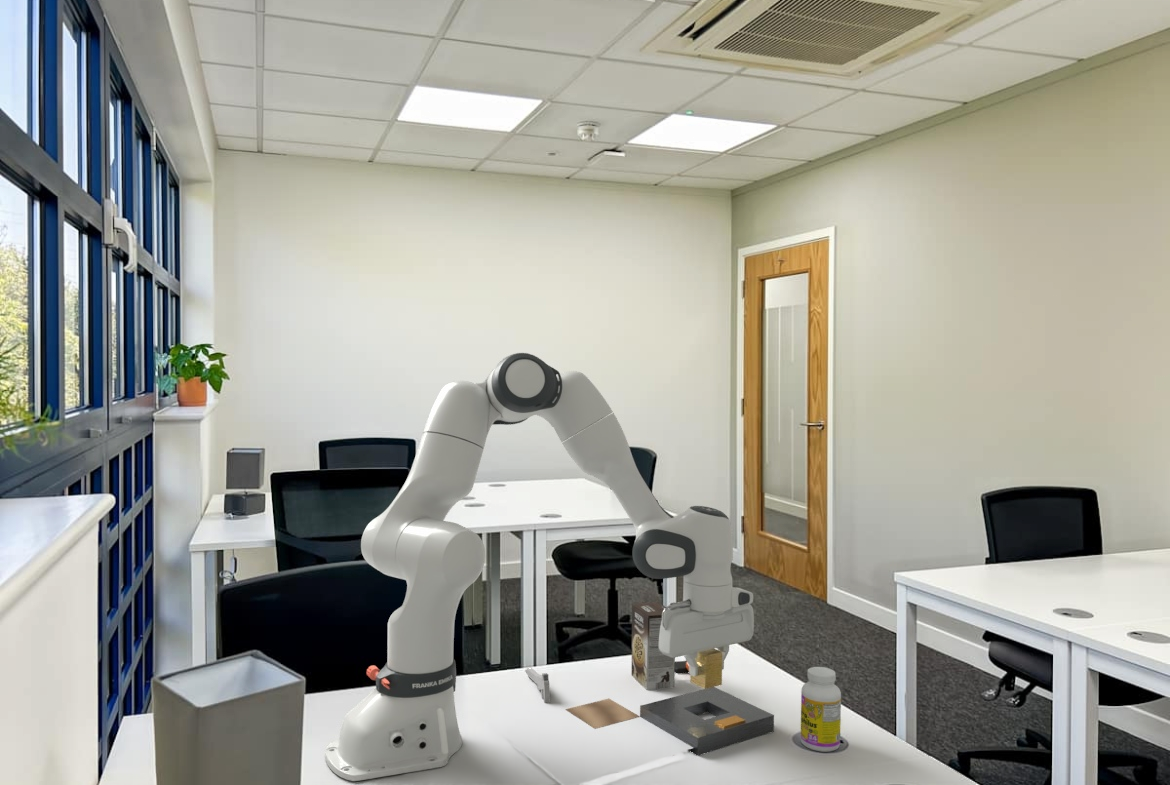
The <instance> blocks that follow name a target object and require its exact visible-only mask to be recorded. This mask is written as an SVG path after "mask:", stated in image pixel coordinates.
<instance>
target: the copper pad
mask: <svg viewBox="0 0 1170 785" xmlns="http://www.w3.org/2000/svg"><path fill="white" fill-rule="evenodd" d="M565 711H567V712H568V713H569V714H571V715H573V716H574V717H576V718H577V719H579V720H581V721H582V722H584V723H585V724H586V725H588V726H589V727H591V728H593V729H594V730H595V729H600V728H603V727H607V726H611V725H614V724H618V723H622V722H625V721H629V720H634V719H637V718H641V717H640V715H638V714H636V713H635V712H633V711H631V710H630V709H628V708H627V707H625V706H623V705H621V704H619V702H618V703H617V702H616V701H614V700H612V699H610V698H606V699H605V698H604V699H601V700H598V701H597V700H596V701H594V702H589V703H584V704H582V705H577V706H573V707H570V708H569V707H568V708H566V709H565Z"/></svg>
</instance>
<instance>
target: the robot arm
mask: <svg viewBox="0 0 1170 785" xmlns="http://www.w3.org/2000/svg"><path fill="white" fill-rule="evenodd" d="M534 416H539V417H541V418H543V419H544V420H546V421H547V422H548V423H549V425H550V426H551V427H552V428H553V429H554V431H555V433H556V435H557V436H558V439H559V441H560V443H562V445H563V447H564V449H565V451H567V454H568V455H569V456H570V458H572V461H573V462H574V464H576V466H578V467H579V468H580V470H581V471H582V472H584V473H585V474H587V475H590V476H593V477H594V478H596V479H598V480H600V481H602V482H603V484H605V485H607V487H609V489H610V490H611V491H612V492H613V494H614V495H615V497H616V499H617V500H618V503H620V505H621V507H622V508H623V510H624V511H625V513H626V514H627V516H628V517H629V518H628V519H630V521H631V522H632V525H633V527H634V531H635V540H634V543H633V546H632V550H631V551H632V560H633V563H634V565H635V566H636V568H637V569H638V571H639V572H640V573H642V575H644V576H646V577H648V578H651V579H655V580H663V579H674V578H678V577H683V586H682V588H683V592H682V593H683V595H682V596H683V597H682V600H681V601H678V602H675V601H674V602H670V603H668V605H667V606H665V607H666V608H665V609H664V611H663V612H662V621H661V626H660V633H659V650H660V651H661V652H662V653H663V654H664V655H666V656H669V657H671V658H675V659H676V658H678V657H684V659H685V661H687V663H688V664H689V673H688V674H689V676H691V675H692V676H694V677H695V676H698V675H701V670H702V666H701V665H698V664H697V662H696V660H695V658H697V655H698V652H701V651H705V650H710V649H716V650H719V651H721V652H722V671H723V670H724V669H725V660H726V658H727V656H728V654H729V652H730V646H731V645H736V644H740V643H744V642H749V641H750V640H752V638H753V635H754V630H755V614H754V608H753V606H752V604H753V602H754V593H753V592H751V591H749V590H746V589H744V588H741V587H737V586H736V585H734V584H733V575H732V571H731V570H732V568H731V565H732V561H733V558H734V538H733V527H732V523H731V520H730V518H729V517H728V515H726V514H725V513H724V512H723V511H721V510H719V509H716V508H713V507H709V506H703V505H693V506H689V507H688V509H686V510H685V511H683V512H682V513H680V514H678V515H676V516H673V515H672V514H670V513H669V512H668V511H666V510H665V509H664V508H663V507H662V506H661V504H660V503H659V502H658V500H657V498H656V497H655V495H654V493H652V490H651V489H650V488H649V486H648V484H647V482H646V481H645V479H644V477H642V476H643V475H642V474H641V473H640V470H639V469H638V467H637V465H636V462H635V459H634V457H633V455H632V452H631V447H630V445H629V443H628V440H627V437H626V434H625V433H624V432H625V431H623V428H622V426H621V424H620V422H619V420H618V418H617V416H616V415H615V413H614V412H613V410H612V408H611V407H610V405H609V403H608V401H607V400H606V399H605V397H604V396H603V395H602V394H601V392H600V391H599V390H598V388H597V387H596V386H595V384H594V383H593V382H592V381H591V380H590V379H589V377H588V376H586V374H584V373H582V372H581V371H577V370H573V371H572V370H571V371H570V370H569V371H564V372H561V373H560V371H558V370H557V369H555V368H554V367H553V366H550V365H548V364H547V363H546V362H545V361H543V360H542V359H541V358H539V357H538V356H536V355H534V354H530V353H527V352H517V353H513V354H510V355H508V356H506V357H504V358H502V360H499V362H498V363H497V364H496V366H495V367H494V368H493V369H492V370H491V371H490V373H489V374H488V376H487V377H486V379H485V380H484V381H483V382H476V383H474V382H471V381H468V380H453V381H452V382H448V383H447V384H445V385H444V386H443V387H442V388H441V390H440V391H439V393H438V395H437V397H436V398H435V401H434V403H433V405H432V407H431V410H430V412H429V415H428V416H427V420H426V421H425V425H424V429H423V432H422V434H421V438H420V441H419V444H418V446H417V451H416V453H415V457H414V459H413V462H412V464H411V468H410V471H409V473H408V475H407V478H406V480H405V482H404V484H403V485H402V487H401V488H400V490H399V491H398V493H397V495H396V496H395V498H394V499H393V501H391V503H390V504H389V506H388V507H386V509H385V510H384V511H383V512H382V513H381V514H379V515H378V516H377V517H375V518H373V519H372V520H371V521H370V522H369V523H368V524H367V525H366V527H365V529H363V530H364V531H363V533H362V536H361V539H360V540H361V541H360V550H361V554H362V556H363V559H364V560H365V561H366V563H367V564H368V565H369V566H371V567H372V568H374V569H375V570H377V571H379V572H380V573H382V574H383V575H385V576H388V577H392V578H396V579H400V580H404V581H406V585H407V586H406V592H405V597H404V600H403V603H402V605H401V606H400V607H398V608H397V609H395V610H394V611H393V612H392V614H391V615H390V617H389V619H388V622H387V652H386V653H387V657H386V658H387V662H386V663H385V665H384V666H383V667H382V668H381V669H379V668H378V667H377V666H376V665H370V666H368V668H367V669H366V676H368V678H370V680H372V681H375V688H374V689H373V690H372V691H371V692H370V693H369V694H367V695H366V697H364V698H363V699H362V700H360V702H359V703H358V704H356V705H355V706H354V707H353V708H352V709H351V710H349V711H348V712H347V713H346V714H345V716H344V717H343V720H342V722H341V726H340V732H339V738H338V739H337V740H334V741H331V742H330V743H329V742H328V745H327V746H326V748H325V750H324V751H325V753H324V759H325V762H326V764H327V766H328V768H329V769H331V771H332V772H333V773H334V774H335V775H336V776H338V777H340V778H342V779H345V780H347V781H352V782H358V781H364V780H371V779H376V778H382V777H388V776H395V775H401V774H406V773H411V772H418V771H423V770H424V771H425V770H431V769H437V768H441V767H442V768H443V767H444V766H446V765H447V764H448V762H449V760H450V758H451V756H452V755H454V754H455V753H456V752H458V750H459V749H461V747H462V744H463V738H462V735H461V732H460V728H459V724H458V723H459V722H458V719H457V712H456V710H457V709H456V704H455V703H456V702H455V692H456V687H457V685H456V683H457V668H456V667H457V666H456V665H457V664H456V660H455V659H454V641H455V640H454V638H455V620H456V614H457V610H458V607H459V604H460V601H461V599H462V596H463V595H464V592H465V591H466V590H467V589H468V588H469V587H470V586H471V585H473V584H474V583H475V582H476V581H477V580H478V579H479V577H480V575H481V573H482V571H483V569H484V567H485V561H486V550H485V545H484V542H483V540H482V538H481V537H480V536H479V534H478V533H476V532H474V531H473V530H471V529H469V528H466V527H465V526H462V525H461V524H459V523H456V522H452V521H446V520H445V518H446V517H447V515H448V513H449V512H450V510H451V509H452V508H453V507H454V506H455V505H456V504H457V503H458V502H460V501H461V500H463V499H465V498H466V497H468V495H470V493H471V492H472V490H473V487H474V484H475V481H476V477H477V473H478V470H479V467H480V464H481V460H482V458H483V454H484V453H483V452H484V448H485V445H486V441H487V437H488V435H489V432H490V430H491V428H492V426H493V425H495V426H496V425H509V426H510V425H516V424H520V423H523V422H525V421H526V420H528V419H529V418H531V417H534ZM667 609H668V610H667Z"/></svg>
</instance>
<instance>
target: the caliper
mask: <svg viewBox="0 0 1170 785" xmlns="http://www.w3.org/2000/svg"><path fill="white" fill-rule="evenodd" d="M529 668H531V669H529ZM525 672H526V675H527V677H529V678H530V679H531V680H532V681H533V682H534V683H535V684H536V685H537V690H539V691H540V693H541V694H540V695H541V699H542V700H543V703H544V704H545V703H546V704H548V703H549V704H550V696H551V694H550V680H549V673H548V672H545V673H541V674H540V673H538V672H537V671H536V670H535V669H533V667H527V668H526V669H525Z"/></svg>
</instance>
